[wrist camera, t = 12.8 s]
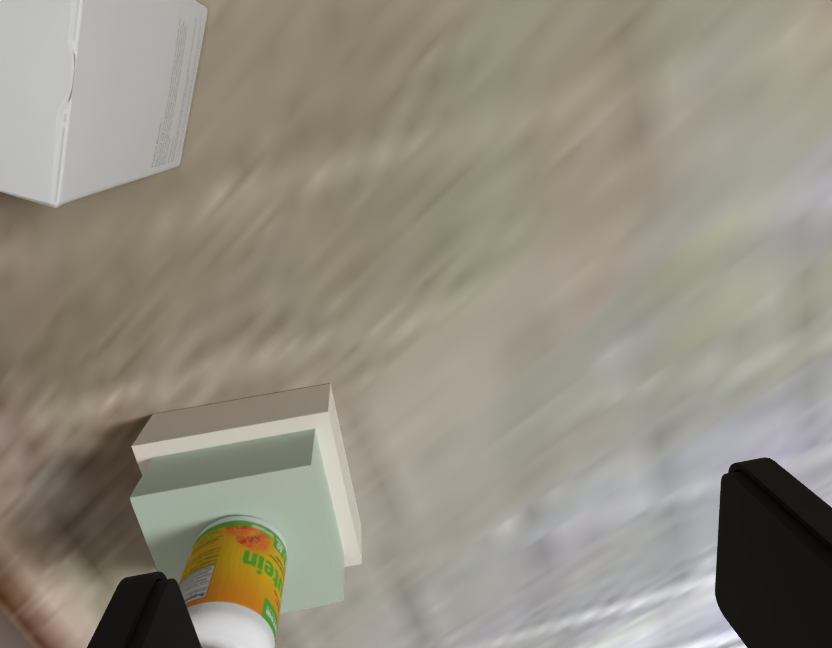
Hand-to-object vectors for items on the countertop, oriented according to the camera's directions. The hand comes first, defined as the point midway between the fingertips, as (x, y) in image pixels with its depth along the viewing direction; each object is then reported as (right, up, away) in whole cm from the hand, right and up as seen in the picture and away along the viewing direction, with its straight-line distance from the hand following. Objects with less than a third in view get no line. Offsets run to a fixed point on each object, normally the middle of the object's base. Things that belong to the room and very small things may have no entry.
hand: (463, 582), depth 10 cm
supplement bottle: (-11, -9, +24) cm, 28 cm away
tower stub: (-12, -6, +31) cm, 34 cm away
